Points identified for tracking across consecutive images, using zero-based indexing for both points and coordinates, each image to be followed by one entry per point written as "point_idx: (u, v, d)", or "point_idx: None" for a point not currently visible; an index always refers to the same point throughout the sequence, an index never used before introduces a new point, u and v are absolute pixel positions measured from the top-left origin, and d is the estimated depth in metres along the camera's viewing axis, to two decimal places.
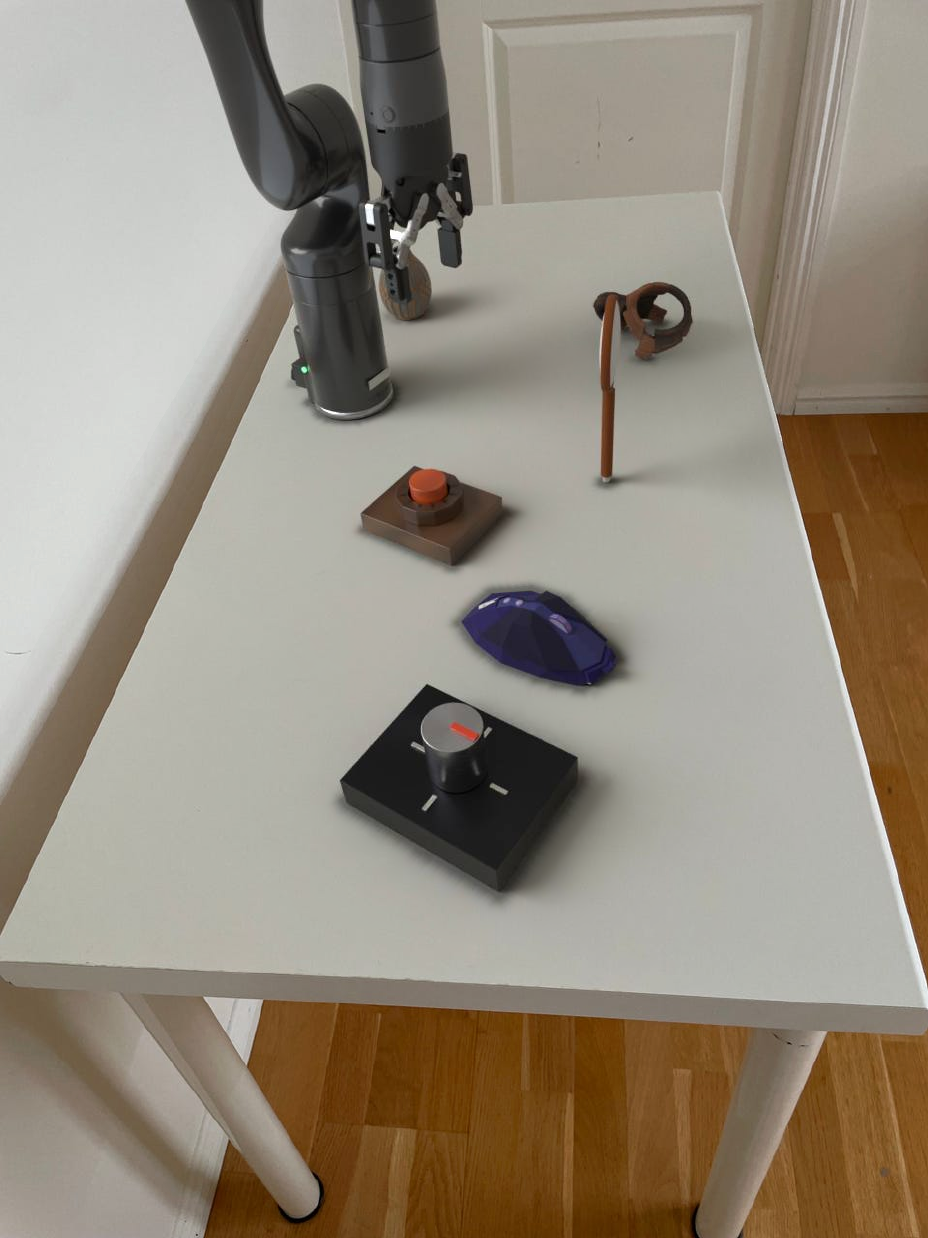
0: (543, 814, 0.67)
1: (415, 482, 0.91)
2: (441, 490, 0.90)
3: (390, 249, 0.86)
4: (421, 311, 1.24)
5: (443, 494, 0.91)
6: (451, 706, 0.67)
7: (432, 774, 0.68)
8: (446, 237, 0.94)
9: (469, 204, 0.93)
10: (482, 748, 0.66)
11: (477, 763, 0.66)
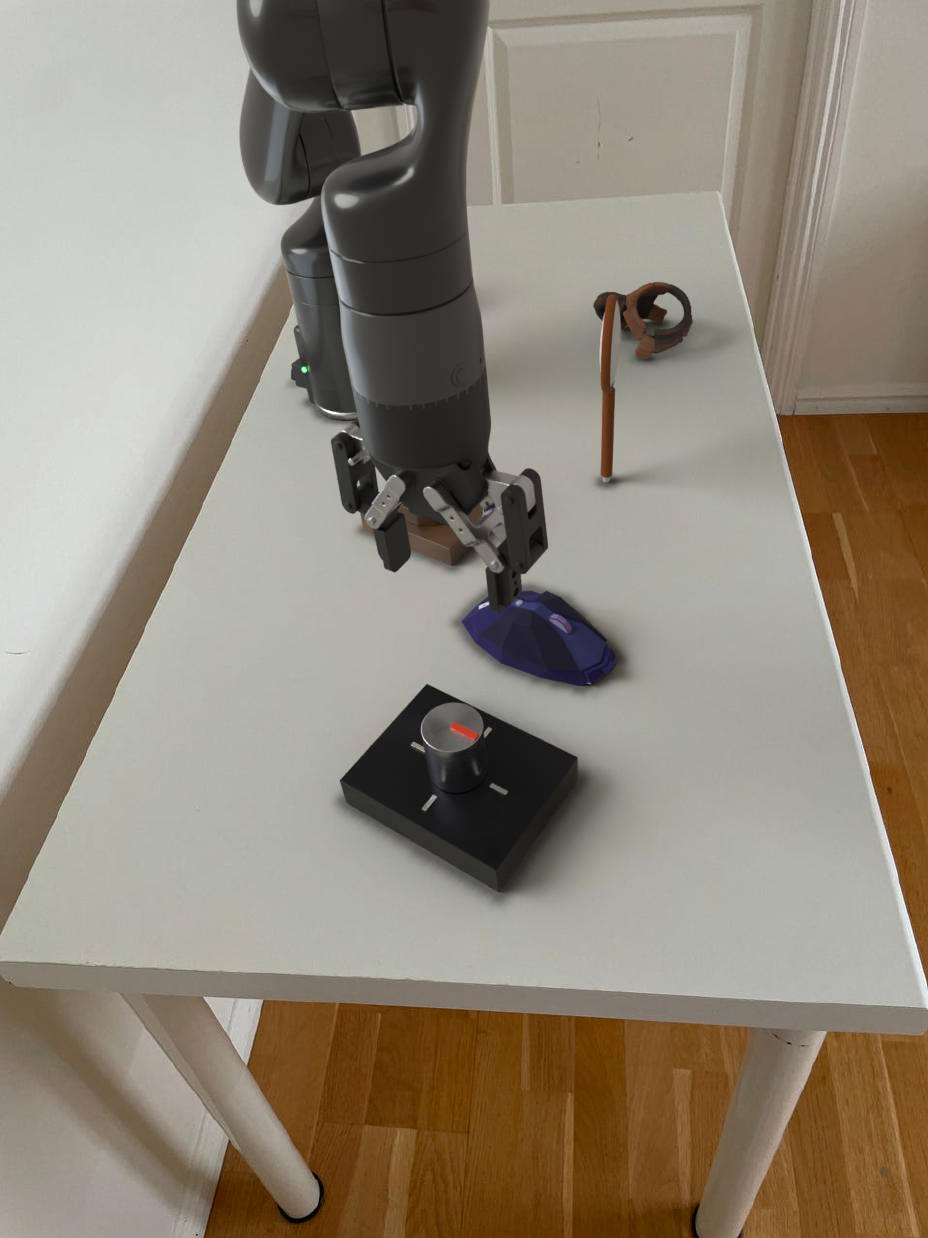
0: (543, 814, 0.67)
1: None
2: None
3: (350, 493, 0.60)
4: None
5: None
6: (451, 706, 0.67)
7: (432, 774, 0.68)
8: None
9: (519, 560, 0.55)
10: (482, 748, 0.66)
11: (477, 763, 0.66)
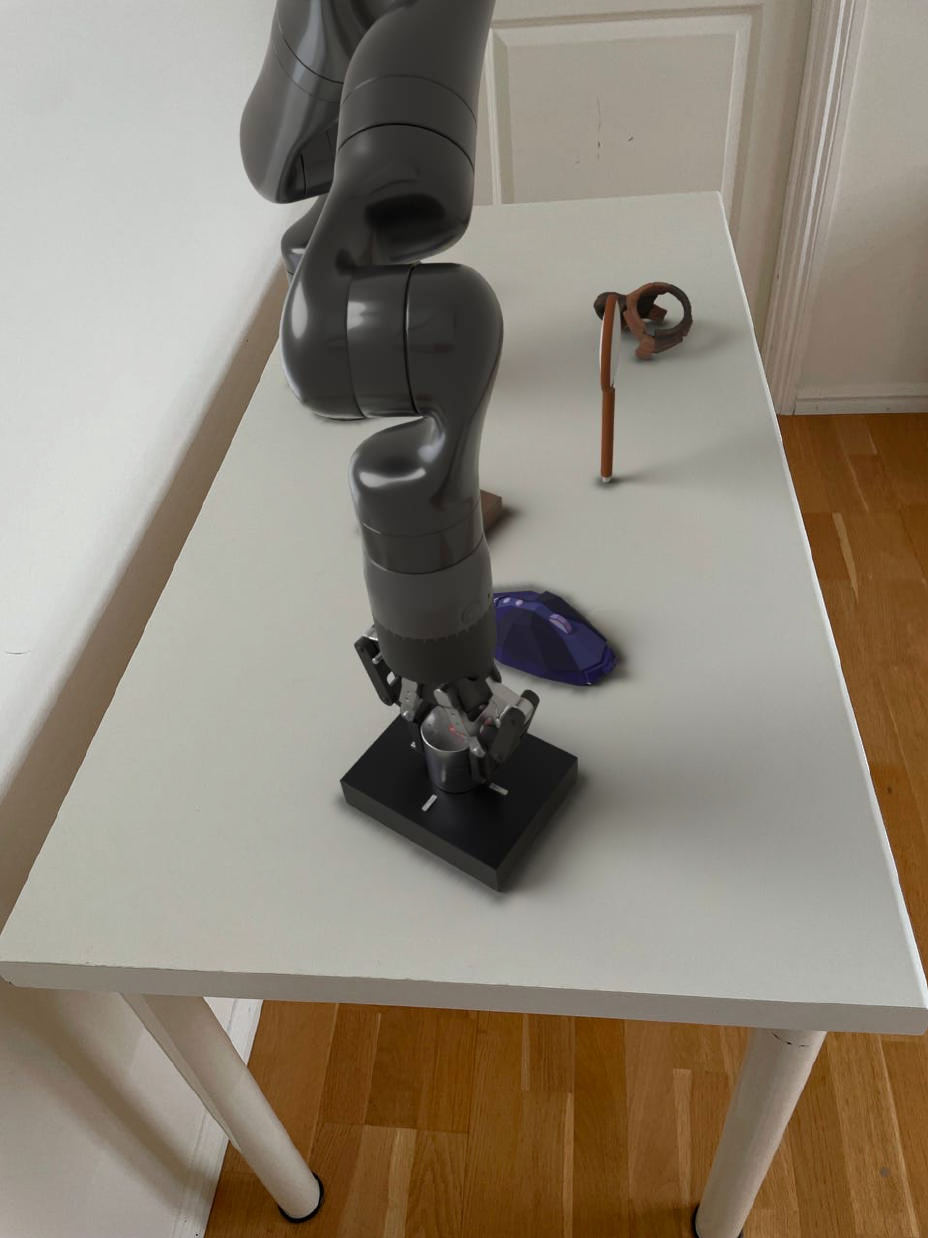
0: (543, 814, 0.67)
1: None
2: None
3: (382, 688, 0.66)
4: None
5: None
6: None
7: (432, 774, 0.68)
8: None
9: (500, 754, 0.62)
10: None
11: None
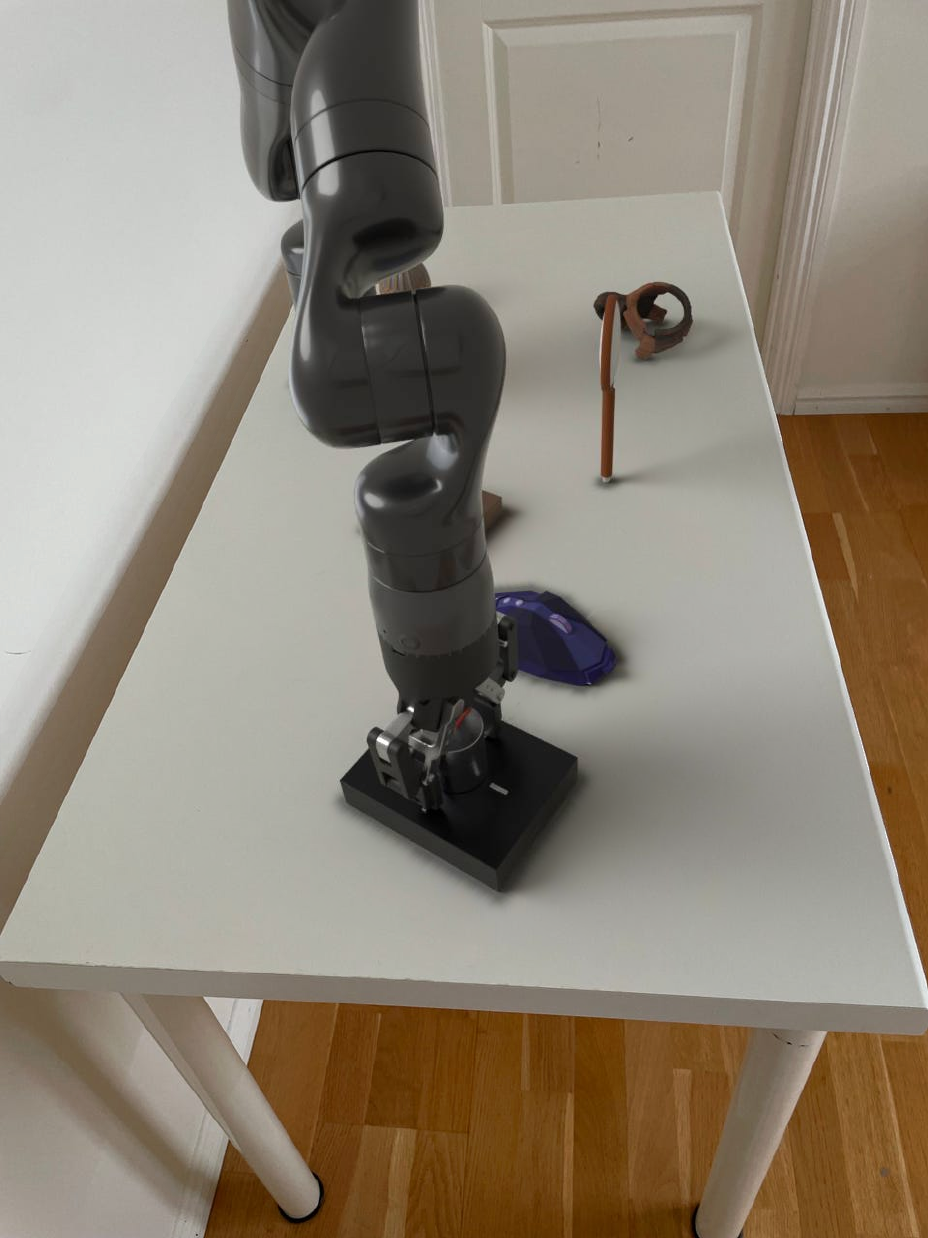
0: (543, 814, 0.67)
1: None
2: None
3: (414, 778, 0.61)
4: None
5: None
6: None
7: (475, 776, 0.67)
8: (481, 708, 0.69)
9: (514, 669, 0.68)
10: None
11: None
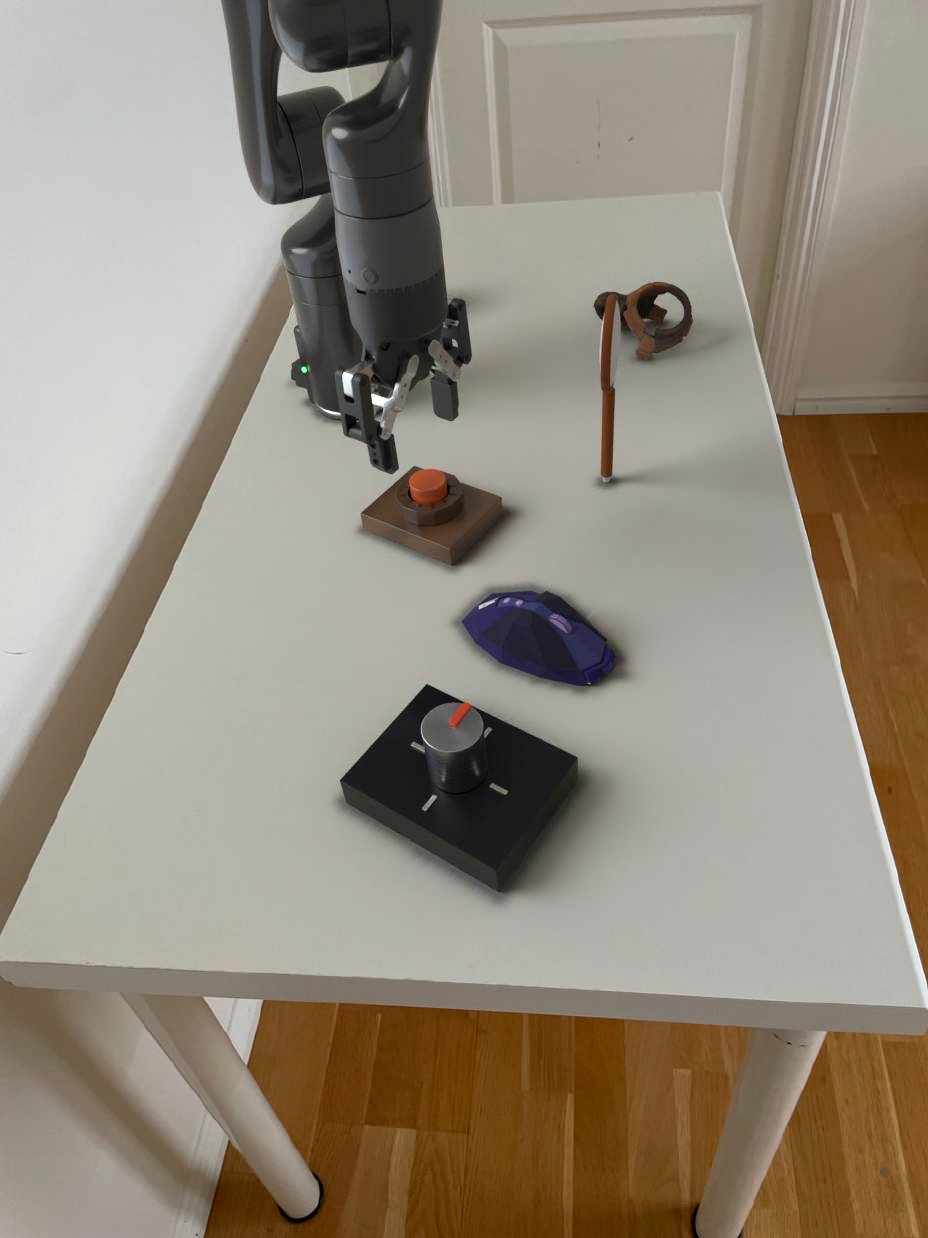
0: (543, 814, 0.67)
1: (415, 482, 0.91)
2: (441, 490, 0.90)
3: (372, 422, 0.72)
4: None
5: (443, 494, 0.91)
6: (426, 729, 0.66)
7: (475, 776, 0.67)
8: (440, 389, 0.80)
9: (468, 351, 0.79)
10: None
11: None
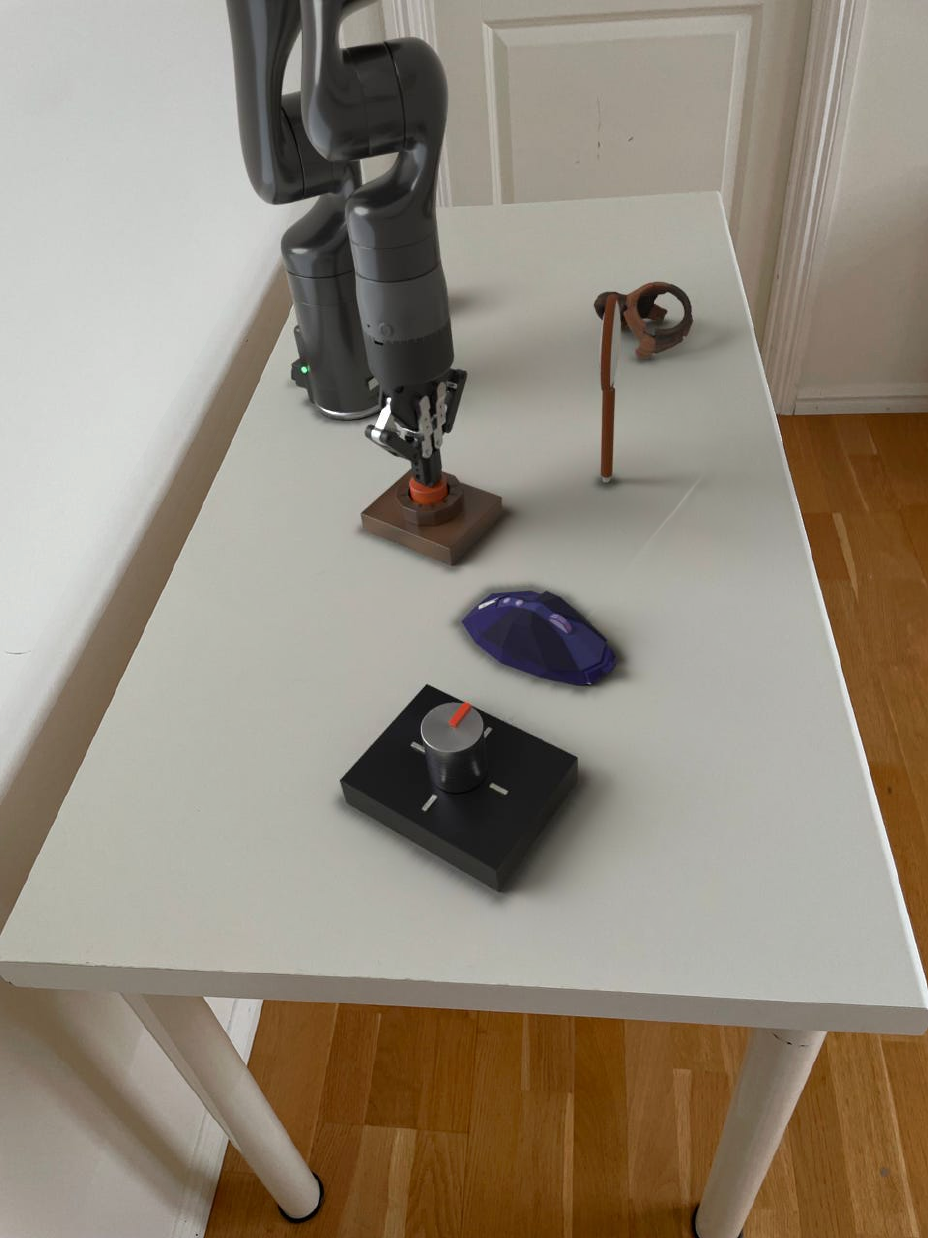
0: (543, 814, 0.67)
1: (415, 484, 0.91)
2: (441, 491, 0.90)
3: (411, 448, 0.84)
4: None
5: (443, 495, 0.91)
6: (426, 729, 0.66)
7: (475, 776, 0.67)
8: None
9: (451, 422, 0.88)
10: None
11: None
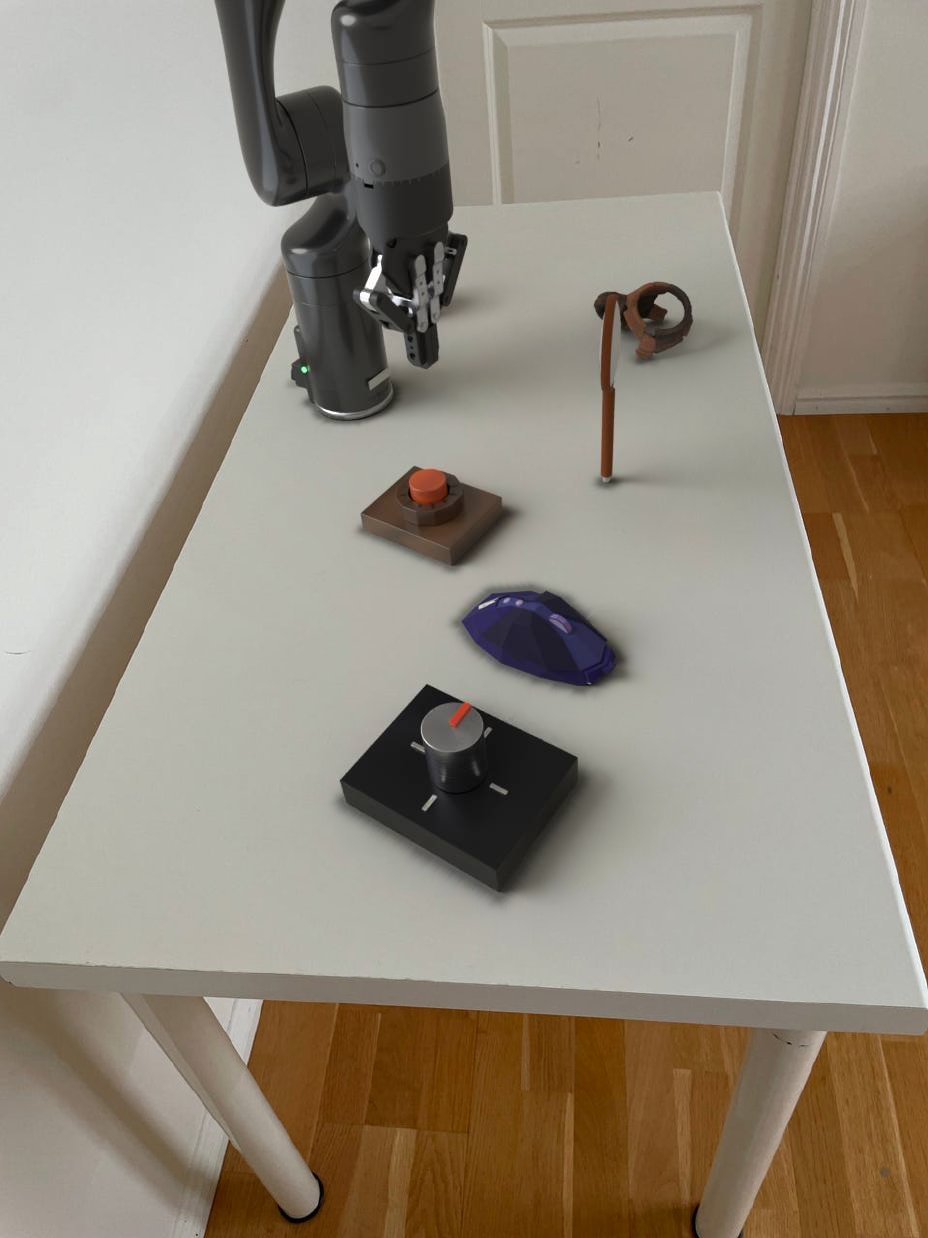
0: (543, 814, 0.67)
1: (415, 482, 0.91)
2: (441, 490, 0.90)
3: (405, 317, 0.76)
4: None
5: (443, 494, 0.91)
6: (426, 729, 0.66)
7: (475, 776, 0.67)
8: None
9: (449, 294, 0.80)
10: None
11: None
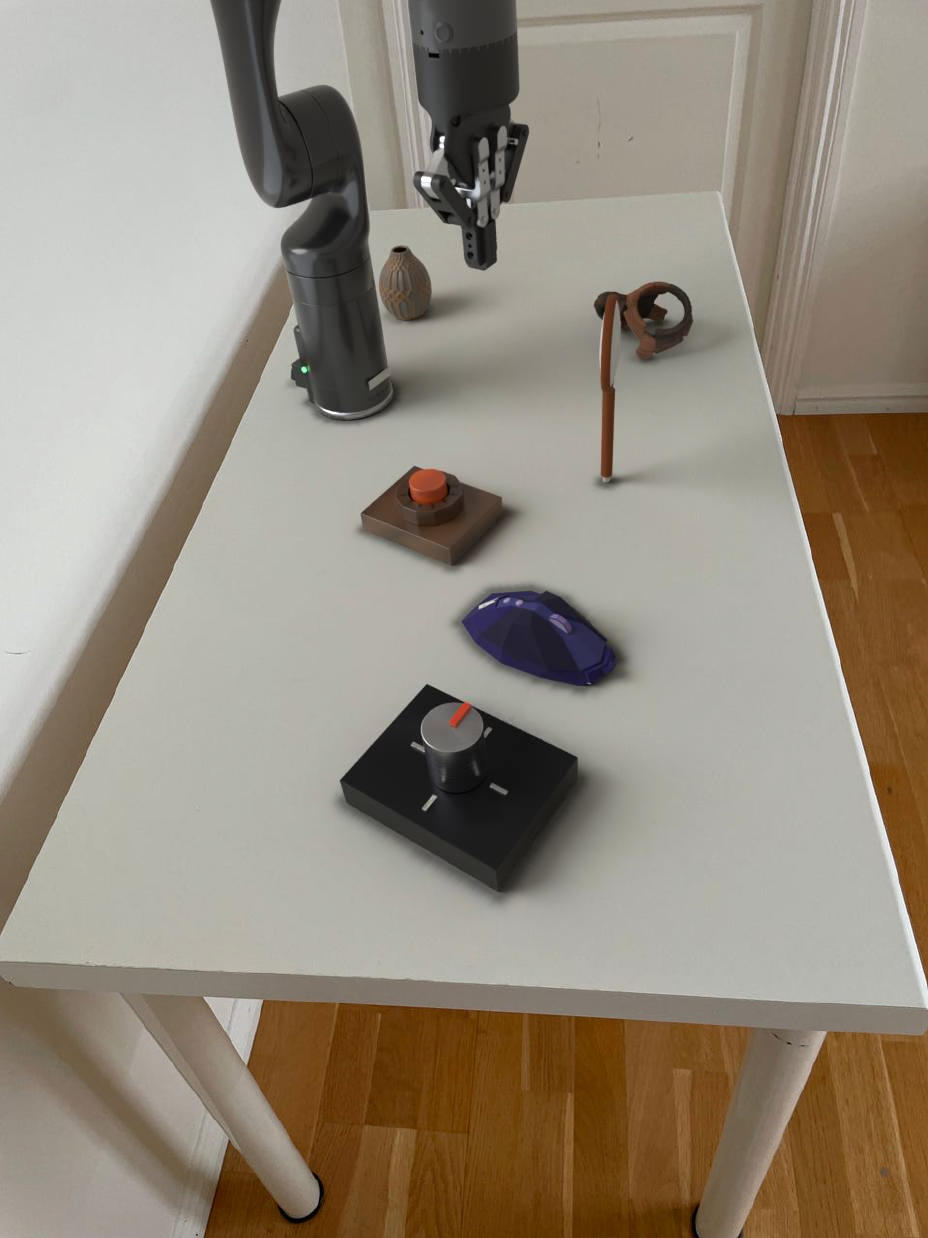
0: (543, 814, 0.67)
1: (415, 482, 0.91)
2: (441, 490, 0.90)
3: (466, 207, 0.72)
4: (421, 311, 1.24)
5: (443, 494, 0.91)
6: (426, 729, 0.66)
7: (475, 776, 0.67)
8: None
9: (509, 188, 0.76)
10: None
11: None
